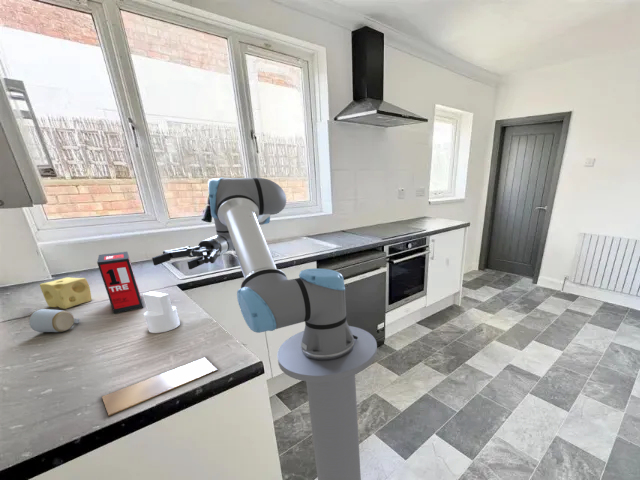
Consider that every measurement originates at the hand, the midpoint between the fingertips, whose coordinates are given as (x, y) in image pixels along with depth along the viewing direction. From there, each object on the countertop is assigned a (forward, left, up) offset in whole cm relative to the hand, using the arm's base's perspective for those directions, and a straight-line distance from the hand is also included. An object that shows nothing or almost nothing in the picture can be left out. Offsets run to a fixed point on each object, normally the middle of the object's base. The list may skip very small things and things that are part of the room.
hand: (171, 263), depth 106 cm
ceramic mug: (+37, -9, -21) cm, 44 cm away
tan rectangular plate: (0, +43, -20) cm, 48 cm away
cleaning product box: (+22, -26, -21) cm, 40 cm away
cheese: (+44, -39, -21) cm, 63 cm away
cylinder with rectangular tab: (+5, +6, -21) cm, 22 cm away
